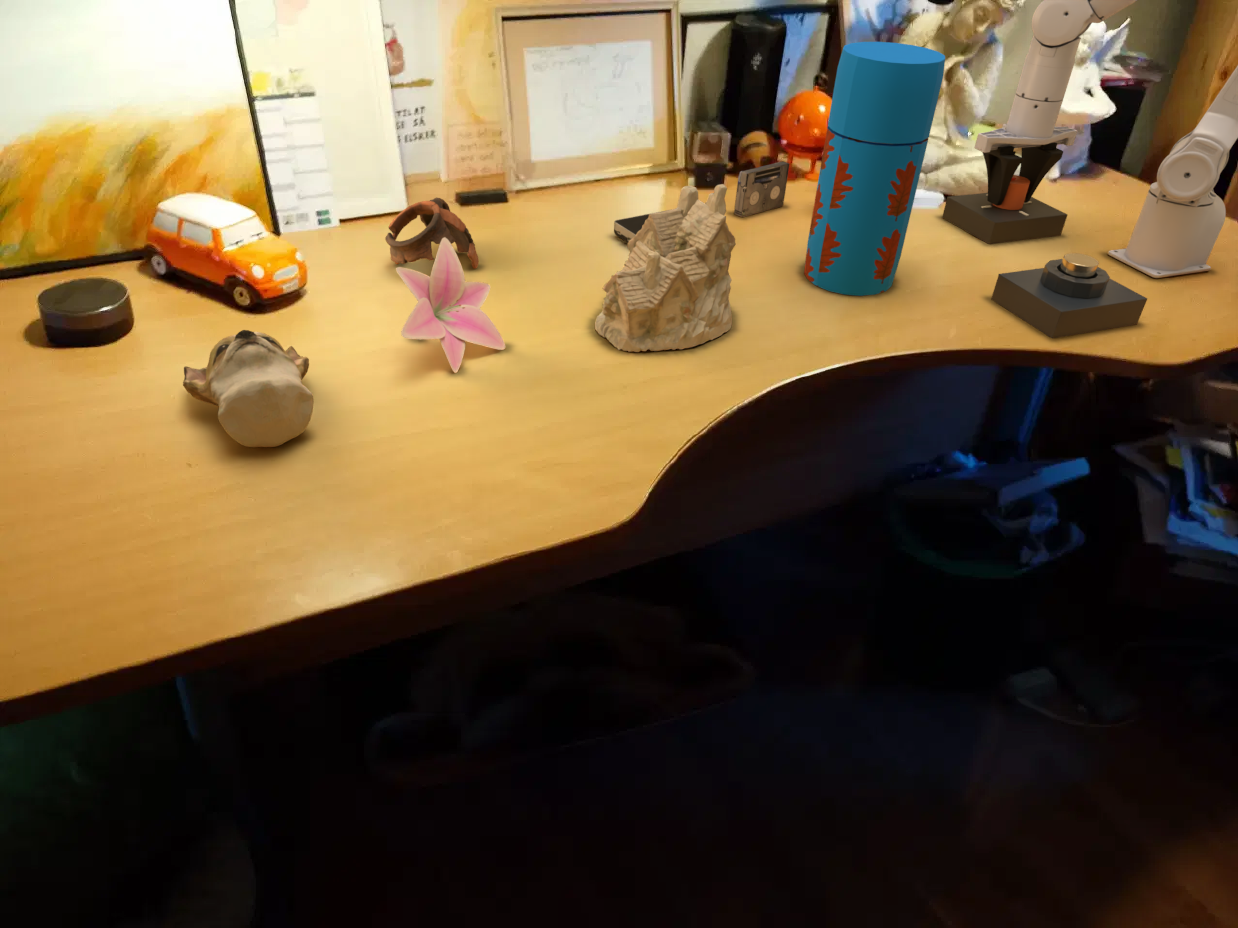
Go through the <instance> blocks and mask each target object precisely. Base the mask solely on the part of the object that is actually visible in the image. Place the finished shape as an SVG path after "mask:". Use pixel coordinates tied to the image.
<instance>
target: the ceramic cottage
mask: <svg viewBox="0 0 1238 928" xmlns="http://www.w3.org/2000/svg"><path fill="white" fill-rule="evenodd" d="M727 190H728V187H727V185H725V184H724V183H721V184H717V185H715V187H714V188H713V192H711V193H709V194H708V196H707V199H706V201H705V202H703V201H702V200H700V199H699V191H698V188H697V187H695V186H694V185H691V184H690V185H685V186H682V188H681V189H680V193H679V196H678V201H677V206H676V207H675V208H672V210H671V209H667V210H668V211H666V210H663V211H664V212H661V211H658V212H659V213H656V212H652V213H653V214H650V213H649V214H650V215H649V217H648V219H647V220H645V223H644V225H642V229H641V230H639V231H638V232H637V234H636V236H635V237H633V238H632V239H631V240H630V241H629V242H626V243H627V250H628V251H629V253H628V255H627V260H625V262H624V264H623V267H622V268H621V270H617V271H616V272H615V273H614V274H613V275H611V276H610V278H609V280H608V281H607V282H605V284H604V285H603V286H602V288H601V289H602V291H604V292H605V297H604V298H603V304H602V311H601V312H599V313H598V314H599V315H596V318H595V323H594V330H596V332H597V333H598V335H600V336H602V337H603V338H606V339H607V341H608V342H609V343H611V344H612V345H613V347H615V348H617V350H618V351H624V352H627V351H628V353H630V352H635V353H639V352H641V351H642V352H647V350H650V351H651V352H653V351H654V352H658V351H663V350H664V351H666V350H674V351H675V350H676V349H678V350H684V349H689V348H693V347H696V346H699V345H703V344H705V343H706V342H709V341H713V340H714V339H717V338H718V337H720V336H723V334H724V333H725V334H726V333H727V332H728V331H729V330H730V331H731V328H732V324H733V323H732V322H733V319H732V317H733V316H732V309H731V302H730V293H731V290H732V287H731V283H732V281H733V279H732V277H731V275H730V272H729V269H730V264H731V258H732V252H733V250H734V248H735V247H736V244H737V243H736V237H735V236H734V234H733V233H732V232H731V230H730V229H729V226H728V223H727V215H726V213H727V204H726V199H725V198H726V195H727Z"/></svg>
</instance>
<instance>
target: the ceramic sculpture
mask: <svg viewBox="0 0 1238 928" xmlns="http://www.w3.org/2000/svg"><path fill="white" fill-rule="evenodd" d="M309 368H310V358H309V357H308V356H302V355H300V354H299V353H298V352H297V351H296V349H295V347H293V346H292V345H290V346H289V347H287V349H284V347H283V346H282V344H281V343H280V341H278V340H277V339H276V338H275V337H273V336H271V335H269V334H267V333H265V332H260V331H252V330H249V329H242V330H240V331H238V332H237V333H236V334H232V335H228V336H226V337H222V338H221V339H220V340H219V341H217V343H216V344H215V345H214V346H213V347H212V349H211V350H210V353H209V357H208V362H207V365H206V366H205V367H202V368H194V367H190V366H184V367H183V375H184V379H183V380H182V381H183V382H182V386H183V388H184V389H185V391H186V392H187V393H188V394H189V395H191V397H193V398H194V399H195V400H198V401H201V402H204V403H208V404H211V405H213V406H216V407H218V412H217V419H218V422H219V424H220V426H222V428H223V430H224V431H225V432H226V433H227V435H228V436H230V438H231V439H233V440H234V441H235V442H236V443H238V444H240V445H241V446H244V447H247V448H258V447H260V448H275V447H279V446H282V445H283V444H284V443H287V442H289V441H290V440H292V439H294V438H296V437H298V436H300V435H301V434H303V433H304V432H305V431H306V429H307V427H308V425H309V424H310V422H311V418H312V415H313V411H314V400H315V399H314V395H313V392H312V391H310V390H309V388H308V387H307V386H305V385H304V384H303V381H302V380H303V379H304V378H305V376H306V375H307V373H308V371H309Z"/></svg>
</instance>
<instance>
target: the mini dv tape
mask: <svg viewBox="0 0 1238 928" xmlns="http://www.w3.org/2000/svg"><path fill="white" fill-rule="evenodd" d="M789 169H790V163H789V162H786V161H779V162H774V163H771V164H767V165H763V166H762V165H761V166H758V167H754V168H750V169H746V170H741V171H739V174H738V177H737V186H736V192H735V200H734V201H735V202H734V208H733V209H734V210H733V215H736V216H738V217H740V218H745V217H748V216H749V217H750V216H752V215H756V214H759V213H763V212H767V211H770V210H774V209H778V208H782V207H784V204H785V196H786V191H787V190H786V189H787V184H788V183H787V182H788V176H789Z"/></svg>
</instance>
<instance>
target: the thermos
mask: <svg viewBox="0 0 1238 928" xmlns="http://www.w3.org/2000/svg"><path fill="white" fill-rule="evenodd" d="M945 63H946V55H945V54H944V53H941V52H940V51H937V50H935V49H932V48H928V47H923V46H918V45H915V44H908V43H901V42H900V43H898V42H891V41H890V42H888V41H859V42H858V41H857V42H850V43H848V44H845V45H844V46H843V48H842V51H841V54H840V57H839V61H838V65H837V69H836V75H835V81H834V87H833V92H832V99H831V103H830V110H829V116H828V121H827V127H826V128H827V129H826V132H825V138H824V140H825V141H824V145H823V151H822V155H821V163H820V168H819V174H818V180H817V187H816V191H815V196H814V197H815V198H814V202H813V207H812V208H813V209H812V215H811V221H810V228H809V232H808V238H807V244H806V254H805V260H804V261H805V263H804V272H803V274H804V276H805V277H806V279H807V281H808V282H810V283H812V284H813V285H814V286H816V287H817V288H821V289H823V290H826V291H828V292H831V293H836V294H841V295H844V296H858V297H863V296H874V295H878V294H882V293H885V292H888V290H889V289H890V288H892V287H893V284H894V280H895V277H896V273H897V270H898V267H899V263H900V260H901V257H902V253H903V249H904V248H903V247H904V244H905V240H906V235H907V231H908V227H909V223H910V218H911V214H912V210H913V205H914V202H915V197H916V193H917V188H918V184H919V180H920V176H921V172H922V169H923V163H924V159H925V155H926V151H927V147H928V142H929V138H930V135H931V130H932V126H933V121H934V117H935V113H936V109H937V104H938V100H939V96H940V92H941V87H942V84H943V79H944V72H945Z"/></svg>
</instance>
